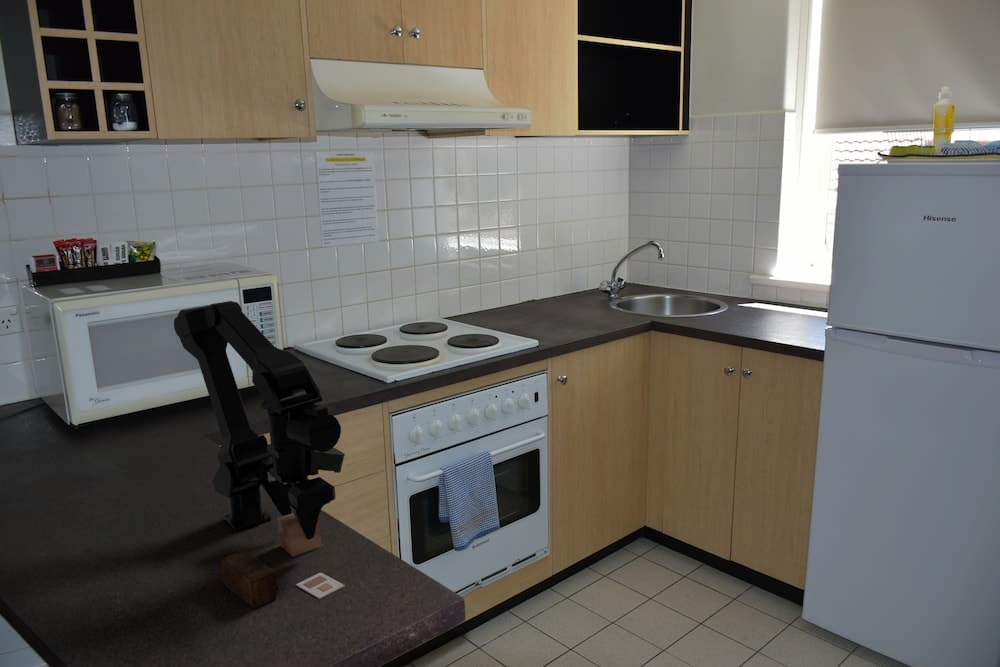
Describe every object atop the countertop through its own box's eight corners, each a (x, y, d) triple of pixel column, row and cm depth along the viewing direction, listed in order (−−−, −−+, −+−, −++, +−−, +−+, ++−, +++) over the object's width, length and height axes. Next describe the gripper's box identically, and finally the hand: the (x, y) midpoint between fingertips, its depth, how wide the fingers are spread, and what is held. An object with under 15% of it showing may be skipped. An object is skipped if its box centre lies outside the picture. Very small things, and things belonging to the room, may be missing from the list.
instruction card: (295, 585, 114) (295, 583, 114) (320, 573, 117) (320, 571, 117) (319, 599, 110) (319, 597, 110) (344, 586, 113) (344, 584, 113)
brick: (279, 599, 110) (276, 569, 109) (254, 611, 108) (250, 580, 107) (245, 574, 118) (242, 546, 117) (220, 585, 115) (217, 556, 114)
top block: (280, 546, 126) (277, 518, 125) (308, 536, 129) (305, 509, 128) (292, 557, 122) (289, 528, 121) (321, 547, 125) (318, 518, 124)
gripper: (361, 440, 120) (369, 532, 123) (311, 414, 134) (319, 497, 137) (294, 458, 113) (304, 555, 116) (249, 428, 128) (259, 516, 131)
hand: (298, 528), depth 125 cm, fingers open, 9 cm apart
